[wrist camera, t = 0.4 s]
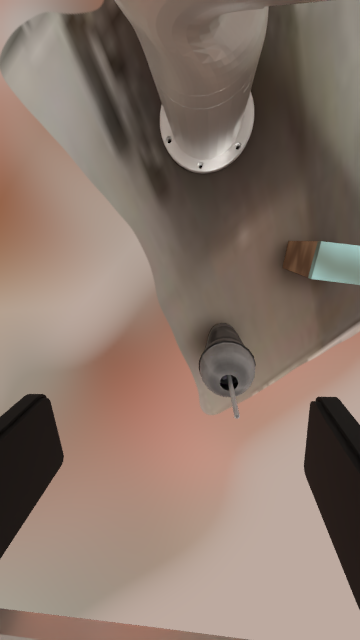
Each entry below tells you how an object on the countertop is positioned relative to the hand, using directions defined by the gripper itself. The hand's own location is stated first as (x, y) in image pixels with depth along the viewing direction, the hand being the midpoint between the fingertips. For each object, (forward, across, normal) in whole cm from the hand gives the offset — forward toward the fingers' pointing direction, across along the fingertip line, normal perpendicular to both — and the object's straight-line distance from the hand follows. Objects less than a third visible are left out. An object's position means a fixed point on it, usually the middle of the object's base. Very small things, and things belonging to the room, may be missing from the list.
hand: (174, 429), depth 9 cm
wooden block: (+35, -16, -3) cm, 38 cm away
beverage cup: (+35, -3, +10) cm, 36 cm away
